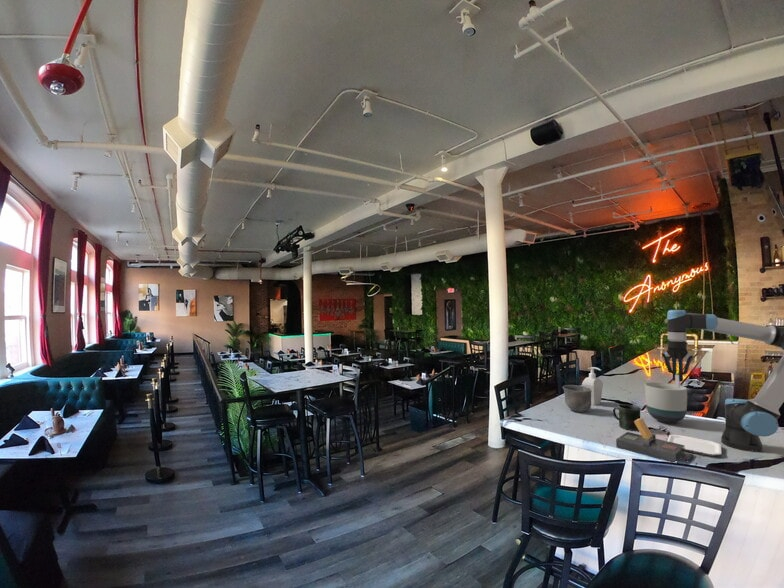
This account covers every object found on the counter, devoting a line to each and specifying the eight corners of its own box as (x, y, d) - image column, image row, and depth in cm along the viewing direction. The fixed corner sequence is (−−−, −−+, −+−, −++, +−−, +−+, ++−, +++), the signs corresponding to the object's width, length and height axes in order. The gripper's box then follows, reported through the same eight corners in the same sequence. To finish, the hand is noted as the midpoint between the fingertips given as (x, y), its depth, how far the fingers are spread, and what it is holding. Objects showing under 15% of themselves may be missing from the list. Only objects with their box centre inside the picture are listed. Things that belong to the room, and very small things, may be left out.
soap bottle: (596, 407, 253) (596, 369, 254) (582, 403, 261) (581, 367, 262) (605, 404, 260) (605, 367, 260) (591, 401, 268) (590, 365, 269)
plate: (721, 447, 184) (721, 442, 184) (721, 460, 168) (721, 455, 168) (669, 437, 197) (669, 433, 197) (665, 448, 182) (665, 444, 182)
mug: (635, 432, 203) (635, 411, 203) (608, 425, 215) (608, 404, 216) (645, 429, 209) (644, 407, 209) (618, 422, 221) (617, 402, 222)
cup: (557, 410, 246) (557, 387, 246) (568, 405, 258) (568, 383, 258) (586, 416, 233) (585, 392, 233) (596, 410, 245) (595, 388, 245)
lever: (655, 439, 181) (643, 417, 185) (650, 443, 176) (637, 420, 180) (650, 440, 182) (638, 418, 186) (645, 444, 177) (633, 421, 181)
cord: (693, 456, 172) (693, 454, 172) (688, 462, 166) (688, 459, 166) (690, 455, 173) (690, 453, 173) (685, 461, 166) (685, 459, 166)
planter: (641, 415, 235) (640, 381, 235) (679, 418, 228) (678, 383, 228) (651, 425, 216) (651, 388, 216) (694, 429, 209) (693, 391, 209)
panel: (684, 453, 175) (684, 439, 175) (675, 463, 165) (675, 448, 165) (627, 439, 193) (627, 426, 194) (616, 447, 183) (616, 433, 183)
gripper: (695, 341, 182) (696, 388, 182) (663, 339, 192) (664, 384, 192) (691, 342, 178) (692, 391, 177) (659, 340, 188) (660, 386, 187)
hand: (677, 387), depth 185 cm, fingers closed
